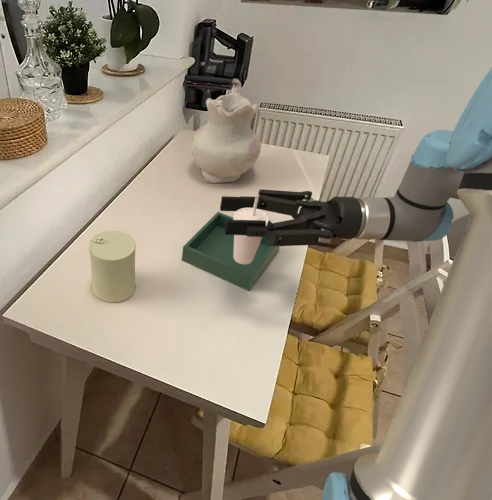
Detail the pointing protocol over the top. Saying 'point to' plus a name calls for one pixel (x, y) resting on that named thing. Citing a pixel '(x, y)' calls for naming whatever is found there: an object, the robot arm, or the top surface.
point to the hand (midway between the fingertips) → (223, 215)
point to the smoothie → (245, 244)
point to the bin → (226, 254)
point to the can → (112, 265)
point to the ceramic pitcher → (226, 138)
